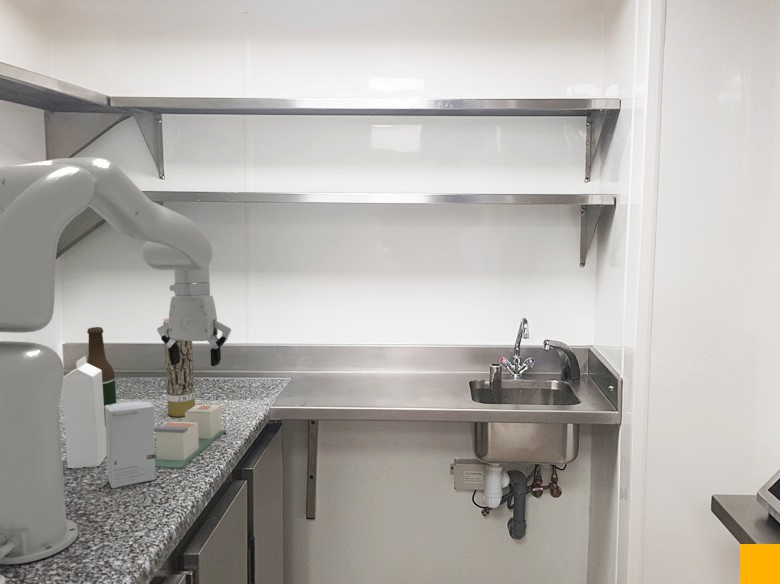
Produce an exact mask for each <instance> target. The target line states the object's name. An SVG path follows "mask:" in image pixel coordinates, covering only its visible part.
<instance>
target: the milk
mask: <svg viewBox="0 0 780 584" xmlns="http://www.w3.org/2000/svg"><path fill="white" fill-rule="evenodd" d="M75 365H76V368H75V369H73V370H72V371H70V372H69V373H67V374H66V375H64V376H63V384H62V390H61V392H62V401H63V402H62V403H63V419H64V434H65V450H66V462H67V464H66V466H67V469H68V468H72V469H84V468H83V467H87V468H98V467H97V466H99V467H100V466H101V464H102V463H103V462H104V460H105V459H106V458H107V457H106V456H107V454H106V426H105V417H104V400H103V384H102V370H100V369H98V368H96V367H94V366H92V365H90V364H88V363H87V356H86V355H84V356H83V357H81V358H80V359H77V361H76V362H75ZM105 457H106V458H105ZM102 461H103V462H102Z"/></svg>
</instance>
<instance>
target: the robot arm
mask: <svg viewBox="0 0 780 584" xmlns="http://www.w3.org/2000/svg"><path fill="white" fill-rule="evenodd" d="M87 208H91V209H92V210H93V211H94V212H95V213H97V214H98V215H99V216H100V217H101V218H102V219H103V220H104V221H106V222H107V223H109V225H110V226H111V227H113V228H114V229H115V231H117V232H118V233H120V234H122V235H123V236H126V237H128V238H132V239H135V240H140V241H143V242H144V243H143V246H142V251H141V252H142V253H141V254H142V255H141V256H142V258H143V260H144V262H145V264H146V265H147V266H149V267H150V268H152V269H155V270H159V271H160V270H161V271H174V282H173V284H170V286H169V291H173V292H174V293H173V294H175V295H173V296H171V297H170V298H171V299H170V304H169V312H168V318H169V322H168V323H166V324H162V325H161V326H159V327H157V328H156V331H157V332H158V334H159V337H160V339H161V341H162V342H163V343H165V344H166V346H167V347H168V348H169V360H170V361H171V365H175V364H177V363H179V362H180V350H179V346H177V344H178V342H179V341H192V342H206V341H207V342H208V343H209V345H210V346H211V347H212V348H210V350H209V351H210V366H211V367H216V366H218V365H220V362H221V360H222V357H221V351H222V350H221V347H222V346H223V345H224V344H225V343H226V342H227V341H228V339H229V336H230V334H231V332H232V328H230V327H229V326H226V325H225V324H223V323H222V322H220V321H218V317H217V316H218V315H217V310H216V304H215V301H214V297H213V295H211V290H210V289H211V288H210V286H211V285H210V283H211V282H210V264H211V262H212V259H213V255H214V254H213V253H214V250H213V246H212V244H211V241H210V240H209V238H208V236H207V235H206V234H205V232H204V231H203V230H202V229H201V228H200V226H198V225H197V223H195V222H194V220H192V219H190V218H188V217H187V216H184V215H183V214H180V213H179V212H177V211H174V210H172V209H170V208H168V207H165V206H164V205H162V204H159V203H156V202H154V201H152V200H151V199H150V198H148V196H147V195H146V194H145V193H144V192H143V191H142V190H141V189H140V188H139V187H138V186H137V185H136V183H134V182H133V180H132V179H131V178H129V177H128V175H127V174H126V173H124V171H123V170H122V169H121V168H119V166H118V165H117V164H115V163H114V162H113V161H111V160H109V159H107V158H104V157H97V156H95V157H94V156H90V157H65V158H62V157H61V158H54V159H47V160H41V161H35V162H34V161H33V162H30V163H29V162H28V163H19V164H12V165H5V166H0V333H11V334H12V333H16V334H17V333H20V334H21V333H34V332H37V331H41V330H42V329H44V328H46V327H47V326H48V325H49V324H50V323H51V321H52V319H53V315H54V310H55V296H56V294H55V293H56V269H57V268H56V267H57V265H56V264H57V251H58V250H57V249H58V245H59V239H60V237H61V235H62V233H63V231H64V230H65V228H66V227H67V226H68V225H69V223H71V222H72V221H73V220H74V218H76V217H77V216H79V215H80V214H82V213H83V212H84V211H85V210H86V209H87ZM167 329H169V335H167V332H166V331H167ZM218 331H220V332H221V336H220V337H218ZM165 344H164V345H165ZM64 373H65V372H64V365H63V361H62V359H61V357H60V356H59V354H58V353H57V352H56V351H55V350H54V349H53V348H51V347H49V346H46V345H44V344H41V343H36V342H30V341H10V340H9V341H7V340H6V341H5V340H3V341H0V565H20V564H25V563H26V564H27V563H31V562H36V561H39V560H43V559H45V558H48V557H51V556H53V555H55V554H57V553H60V552H61V551H63V550H65V549H66V548H68V547H69V546H70V545H71V544H73V543H74V542H75V541H76V540H77V538H78V536H79V528H78V524H77V523H76V522H75V521H73V520H71V519H68V518H67V514H66V512H67V511H66V497H65V480H64V470H63V468H64V467H63V454H62V451H63V450H62V440H61V427H60V426H61V425H60V423H61V422H60V407H61V406H60V405H61V395H62V384H63V377H64V376H65V375H64Z"/></svg>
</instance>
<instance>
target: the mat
mask: <svg viewBox="0 0 780 584" xmlns="http://www.w3.org/2000/svg"><path fill="white" fill-rule="evenodd" d="M225 431H226V429H221V431H220V432H219V433H217V434H216V435H215V436H214V437H212V438H211V439H203V438H198V440H199V449H198V450H197V451H195V452H194V453H193V454H192V455H190V456H189V457H188V458H187V459H185V460H184V461H182V460H160V459H157V455H155V467H162V468H161V469H177V470H179V469H180V470H181V469H183V468H184V467H185V466H186V465H187V464H189V463H190V462H191V461H192V460H193V459H195V458H196V457H197V456H198V455H200V453H202V452H203V451H204V450H206V449H207V448H208V447H209V446H210V445H212V443H214V442H215V441H216V440H218V438H220V437H221V436H222V435H223V434H224V433H226V432H225ZM220 435H221V436H220ZM219 436H220V437H219ZM213 441H214V442H213ZM208 445H209V446H208ZM207 446H208V447H207ZM201 451H202V452H201ZM195 456H196V457H195ZM190 460H191V461H190ZM189 461H190V462H189ZM183 466H184V467H183Z"/></svg>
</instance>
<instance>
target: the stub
mask: <svg viewBox="0 0 780 584" xmlns="http://www.w3.org/2000/svg"><path fill="white" fill-rule="evenodd" d="M221 411H222V410H221V405H213V404H212V405H211V404H210V405H209V404H205V405H203V404H195V406H194V407H192V408H191V409H189V410H188V411H186V412H185V416H184V419H185V420H184V421H196V422H198V438H203V439H211V438H212V437H214V436H215V435H216V434H217V433H219V432H220V431H221V430H222V415H221V413H222V412H221Z"/></svg>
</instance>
